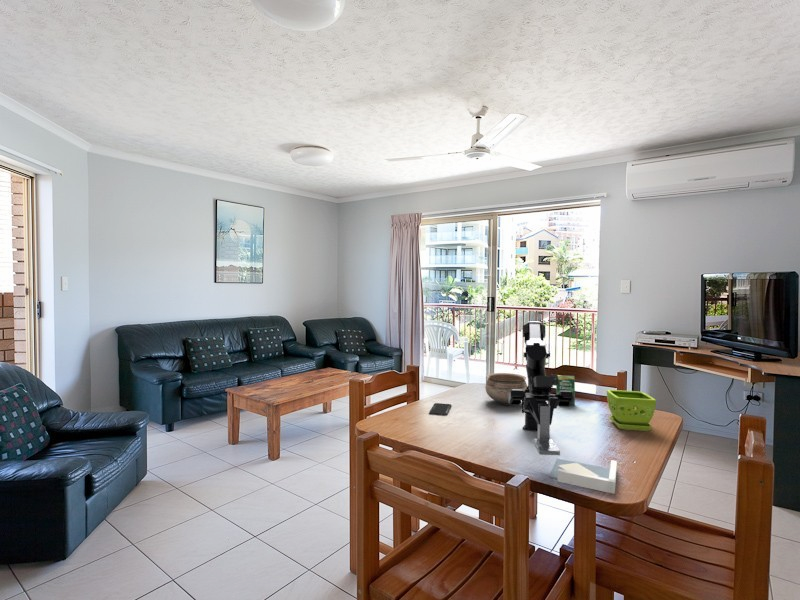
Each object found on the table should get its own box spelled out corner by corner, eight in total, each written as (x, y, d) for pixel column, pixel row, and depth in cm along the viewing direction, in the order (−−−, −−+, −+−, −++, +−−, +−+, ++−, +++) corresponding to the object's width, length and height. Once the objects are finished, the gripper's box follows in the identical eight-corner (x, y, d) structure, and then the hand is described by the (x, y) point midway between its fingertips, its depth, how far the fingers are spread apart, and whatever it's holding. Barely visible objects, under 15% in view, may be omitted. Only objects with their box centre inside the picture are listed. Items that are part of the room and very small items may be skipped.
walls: (565, 461, 129) (565, 451, 129) (616, 471, 122) (616, 461, 122) (557, 481, 115) (557, 470, 115) (614, 493, 109) (614, 482, 109)
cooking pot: (523, 413, 179) (524, 384, 178) (479, 407, 186) (479, 380, 186) (530, 399, 202) (531, 373, 201) (491, 394, 209) (491, 370, 209)
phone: (451, 404, 189) (447, 413, 174) (451, 406, 189) (447, 416, 174) (434, 402, 191) (428, 412, 176) (434, 405, 191) (428, 414, 176)
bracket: (532, 442, 127) (533, 403, 127) (551, 442, 127) (552, 403, 126) (539, 454, 119) (540, 413, 118) (559, 455, 118) (560, 413, 117)
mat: (556, 459, 130) (556, 458, 130) (610, 470, 123) (610, 468, 123) (549, 477, 118) (549, 475, 118) (608, 490, 111) (608, 488, 111)
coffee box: (555, 404, 193) (556, 375, 192) (555, 402, 196) (556, 374, 195) (574, 405, 190) (575, 377, 190) (574, 404, 193) (574, 375, 192)
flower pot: (656, 434, 154) (657, 399, 153) (615, 431, 156) (616, 397, 156) (642, 422, 167) (643, 390, 167) (604, 419, 170) (605, 388, 170)
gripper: (510, 363, 129) (516, 410, 119) (573, 364, 127) (584, 412, 117) (506, 382, 137) (511, 427, 127) (564, 383, 136) (575, 429, 126)
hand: (544, 424), depth 124 cm, fingers closed on bracket, 3 cm apart
